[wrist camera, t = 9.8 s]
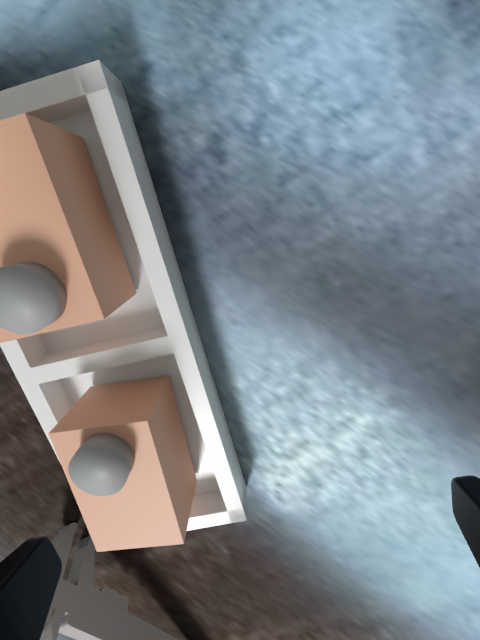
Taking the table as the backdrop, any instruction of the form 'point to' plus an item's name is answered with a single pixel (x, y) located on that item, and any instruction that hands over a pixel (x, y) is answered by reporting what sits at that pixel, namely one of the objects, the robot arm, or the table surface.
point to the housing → (139, 311)
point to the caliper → (90, 601)
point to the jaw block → (54, 233)
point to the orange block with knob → (128, 464)
